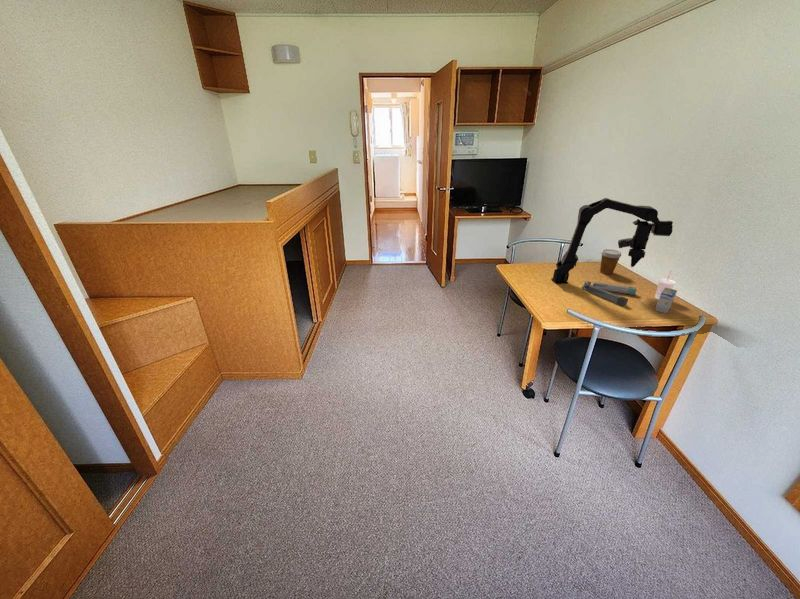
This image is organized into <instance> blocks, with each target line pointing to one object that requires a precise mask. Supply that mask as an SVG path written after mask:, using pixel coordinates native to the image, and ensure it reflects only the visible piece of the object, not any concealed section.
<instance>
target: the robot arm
mask: <svg viewBox="0 0 800 599" xmlns="http://www.w3.org/2000/svg"><path fill="white" fill-rule="evenodd" d="M606 209H608V210H609V209H610V210H613V211H617V212H621V213H626V214H630V215H632V216H635V217H636V218H637V219H636V220H634V221H632V224H633V225H634V226H636V229H635V233H634V235H633V236H632V237H629V238H623V239H618V242H617V243H618V245H617V246H618V248H619V249H623V248H627V247H629V248H630V249H629V250H628V255H627V256H629V257H630V258H631V259H630V267H631V268H634V267H635V266H636V265H637V263H639V262H640V260H641V259H644V258H645V256H646V251H645V250H646V248H647V244H648V241H649V239H650V234H652V235H653V236H657V237H658V236H660V237H670V236H671V235H672V233H673V230H674V229H673V227H674V226H673V224H674V222H673V221H672V220H660V219H659V217H658V215H659V212H658V210H657V209H656V208H654V207H653V206H651V205H634V204H631V203H630V204H629V203H625V202H622V201H618V200H613V199H610V198H608V197H604V198H602V199H600V200H598V201H595V202H592V203H590V204H585V205H581V206H580V208H579V210H578V215H577V223H576V227H575V229H574V232H573V234H572V238H571V241H570V243H569V246H568V249H567V251H565V253H564V255H563V256H562V258H561V260H560V261H558V262H557V263H555V267H556V269H554V271H553V276H552V277H551V280H552V282H554V283H555V284H557V285H558V284H559V285H561V284H563V285H564V284H569V282H568V281H569V278H570V271H571V270H573V269H574V268H575V267H576V266H577V262H578V261H579V256H578V254H577V253H578V249H579V246H580V244H581V240H582V238H583V236H584V233H585V230H586V228H587V226H588V225H589V224H590V222H591V221H592V219H593V217H594V216H595V215H597V214H599V213H600V212H603V211H604V210H606Z"/></svg>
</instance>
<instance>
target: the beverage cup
mask: <svg viewBox="0 0 800 599" xmlns="http://www.w3.org/2000/svg"><path fill="white" fill-rule="evenodd" d="M668 273H669V274H668V275H667V278H665V277H664V278H662V277H661V278H659V279H658V285H657V287H656V292H655V296H654V298H655V299H657V300H659V298H660V295H661V293H662V292H663V290H664V289H665V288H670V289H673V287H674V285H675V284H676V281H675V280H673V279H670V276H671V273H672V270H670V271H669V272H668Z"/></svg>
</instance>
